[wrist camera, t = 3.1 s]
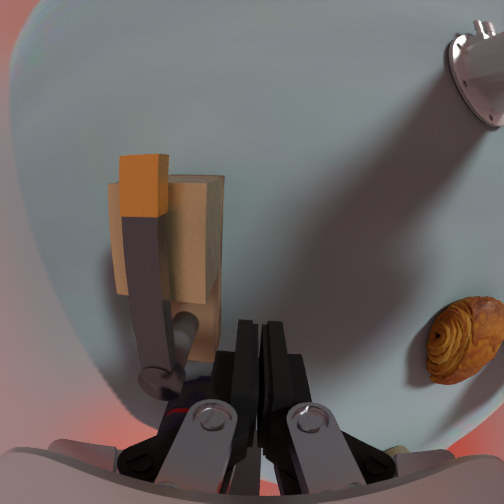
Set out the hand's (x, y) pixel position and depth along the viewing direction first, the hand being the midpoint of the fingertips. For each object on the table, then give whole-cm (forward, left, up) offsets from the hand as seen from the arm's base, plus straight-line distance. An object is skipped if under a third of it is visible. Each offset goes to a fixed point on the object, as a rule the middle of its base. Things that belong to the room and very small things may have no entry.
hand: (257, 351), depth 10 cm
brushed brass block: (-2, -6, -12) cm, 13 cm away
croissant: (+12, +30, -17) cm, 36 cm away
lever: (0, -6, -5) cm, 8 cm away
